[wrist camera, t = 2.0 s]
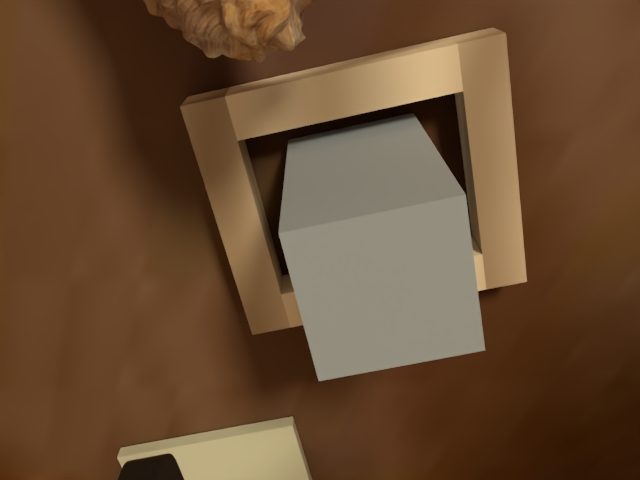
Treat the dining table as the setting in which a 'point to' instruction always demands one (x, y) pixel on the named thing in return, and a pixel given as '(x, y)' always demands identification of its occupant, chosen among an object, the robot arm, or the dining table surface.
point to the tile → (233, 453)
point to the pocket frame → (347, 100)
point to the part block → (378, 248)
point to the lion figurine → (235, 25)
